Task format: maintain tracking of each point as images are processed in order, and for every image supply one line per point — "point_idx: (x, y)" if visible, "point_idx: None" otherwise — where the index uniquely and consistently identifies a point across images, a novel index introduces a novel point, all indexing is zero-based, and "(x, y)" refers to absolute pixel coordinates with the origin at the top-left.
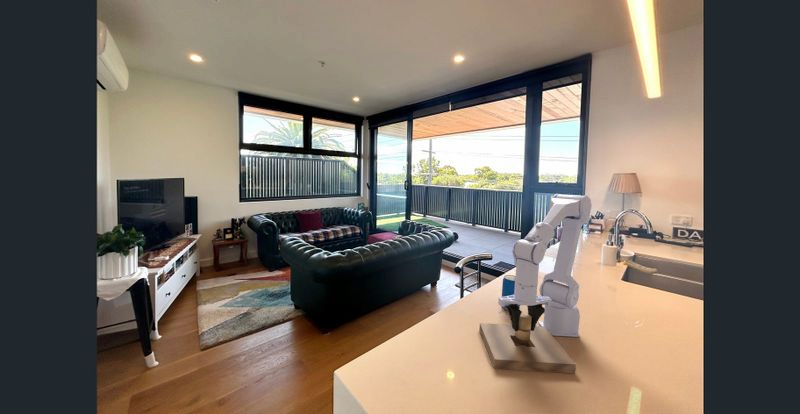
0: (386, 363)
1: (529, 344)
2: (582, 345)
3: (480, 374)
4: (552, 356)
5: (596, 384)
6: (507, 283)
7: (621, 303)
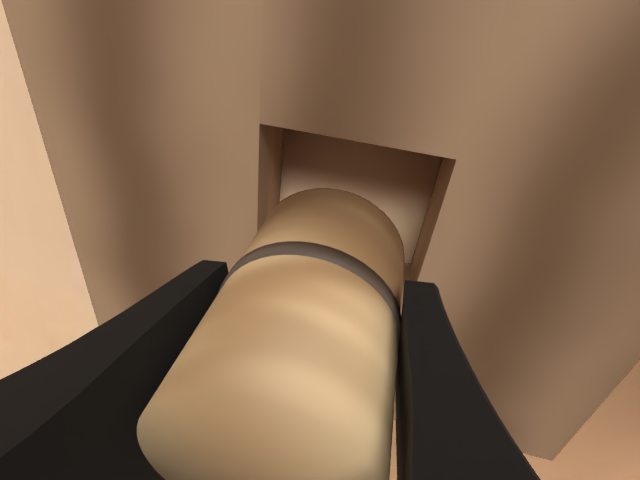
0: None
1: (441, 175)
2: None
3: (77, 322)
4: None
5: (575, 460)
6: None
7: None
